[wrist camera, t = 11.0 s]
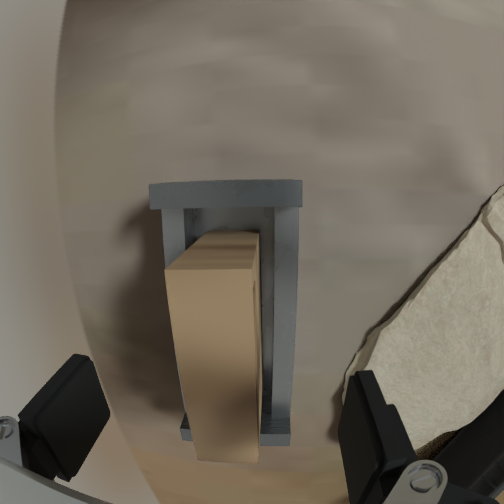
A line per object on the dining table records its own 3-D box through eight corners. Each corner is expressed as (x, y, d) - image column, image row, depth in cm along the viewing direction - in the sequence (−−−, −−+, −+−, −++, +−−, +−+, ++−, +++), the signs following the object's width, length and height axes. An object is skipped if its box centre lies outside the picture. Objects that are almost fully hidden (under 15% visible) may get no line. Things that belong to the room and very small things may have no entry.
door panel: (207, 230, 18) (163, 269, 10) (260, 229, 18) (253, 268, 10) (219, 374, 21) (196, 459, 13) (263, 374, 20) (259, 463, 13)
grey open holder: (177, 182, 18) (148, 184, 14) (293, 179, 18) (302, 180, 13) (196, 397, 22) (182, 440, 17) (287, 400, 22) (289, 445, 17)
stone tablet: (580, 267, 18) (594, 273, 16) (386, 461, 24) (391, 478, 22) (535, 131, 16) (552, 129, 14) (283, 378, 22) (283, 398, 20)
